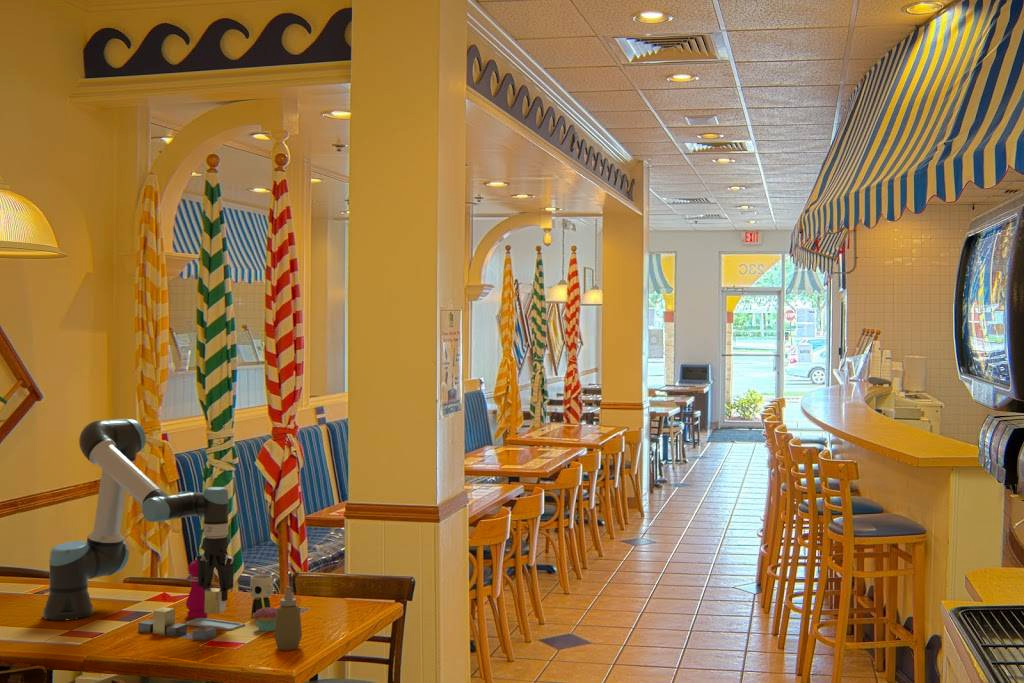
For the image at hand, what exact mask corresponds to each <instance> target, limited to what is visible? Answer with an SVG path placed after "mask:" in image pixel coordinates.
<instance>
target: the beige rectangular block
mask: <svg viewBox="0 0 1024 683" xmlns="http://www.w3.org/2000/svg"><path fill="white" fill-rule="evenodd" d="M211 588H212V589H209V590H205V613H207V614H210V615H211V614H213V615H218V614H221V613H225V612H226V610H225V611H222V612H218V591H219V590H221V589H220V587H219V588H217V587H211Z"/></svg>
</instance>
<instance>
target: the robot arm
mask: <svg viewBox="0 0 1024 683" xmlns="http://www.w3.org/2000/svg"><path fill="white" fill-rule="evenodd" d="M78 440H79V441H78V443H79V444H78V445H79V448H80V452H81V453H82V454H83V455H84V457H85V458H86V459H87V461H88V462H90V463H91V464H92V465H95V466H96V465H97V466H99V467H100V468H101V475H100V476H101V477H100V482H99V490H98V496H97V503H96V510H95V518H94V523H93V530H92V531H91V532H90V533H89V534H87V538H86V539H87V541H84V540H73V541H66V542H63V543H60V544H57V545H55V546H53V547H52V549H51V550H50V554H49V561H48V563H49V589H48V590H49V591H48V593H49V594H48V596H47V600H46V603H45V607H44V608H43V611H42V617H44V618H46V619H45V620H47V619H53V620H52V621H55V620H64V621H67V620H66V619H75V620H77V619H76V618H81V617H85V618H87V617H86V616H88V617H90V616H89V615H91V614H92V613H93V614H94V605H93V604H92V600H91V597H90V594H89V590H88V589H89V585H88V584H89V581H88V580H92V579H95V578H100V577H101V578H103V577H108V576H112V575H113V574H117V573H120V572H121V571H122V570H123V569H124V568H125V567H126V565H127V564H128V561H129V559H130V557H129V556H130V549H129V548H128V544H127V542H126V541H125V540H124V539H125V537H124V535H122V533H121V529H122V523H123V522H122V521H123V514H124V508H125V507H124V506H125V499H126V493H128V494H129V495H130V496H131V498H133V499H134V500H135V501H136V502H137V503H138V504H139V505H140V506H141V513H142V514H143V518H144V519H145V520H146V521H147V522H150V523H156V522H157V523H161V522H165V521H169V520H174V519H175V520H176V519H181V518H188V517H203V536H204V538H203V550H204V552H203V554H198V555H196V556H197V560H198V586H199V587H200V586H201V587H203V589H204V599H205V590H209V589H212V588H213V585H212V583H213V582H212V581H213V577H214V571H215V570H216V572H217V576H218V581H219V582H218V583H219V589H221V590H219V591H218V612H222V611H225V612H226V610H227V606H226V605H227V601H228V597H229V595H228V592H229V590H230V589H233V587H234V564H235V561H236V558H235V557H234V556H233V557H231V556H230V555H229V554H228V548H229V537H228V535H229V506H230V505H229V502H230V499H229V490H228V488H226V487H224V486H211V487H206V488H205V489H204V491H203V492H198V491H197V492H196V491H192V490H191V491H189V490H187V491H179V492H178V493H176V494H169V495H168V494H167V493H166V492H165V491H164V490H162V489H161V488H160V487H159V486H158V485H157V484H156V483H155V482H154V481H152V479H151V478H149V477H148V476H147V475H146V474H145V473H144V472H143V471H142V470H141V469H139V468H138V467H137V466H136V465H135V464H134V463H135V462H136V458H137V453H140V452H141V451H142V450H143V449H144V448H145V446H146V442H147V437H146V432H145V429H144V428H143V426H142V425H141V424H140V422H138V421H137V420H135V419H133V418H130V419H129V418H116V419H103V420H102V419H101V420H95V421H92V422H90V423H88V424H86V426H85V427H84V428H83V429H82V431H81V432H80V435H79V438H78ZM222 613H223V612H222ZM93 614H92V615H93ZM92 615H91V616H92ZM44 618H43V619H44ZM81 619H82V618H81Z"/></svg>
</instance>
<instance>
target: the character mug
mask: <svg viewBox="0 0 1024 683" xmlns="http://www.w3.org/2000/svg"><path fill="white" fill-rule="evenodd" d="M273 580H274V578H273V575H271V574H255V575H252V576H251V577H250V582H249V589H250V591H249V593H250V596H251V597H252V598H253V600H252V606H251V613H250V614H251V616H252V617H254V616H253V615H254V613H255V612H256V611H257V610H259V609H262V608H263V607H262V600H261V593H262V595H263V599H264V606H265V608H266V607H271V602H270V598H269V597H272V595H273V593H274V583H273Z"/></svg>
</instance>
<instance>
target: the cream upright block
mask: <svg viewBox="0 0 1024 683" xmlns="http://www.w3.org/2000/svg"><path fill="white" fill-rule="evenodd" d="M152 613H153V617H152V620H153V633H155V634H154V635H159V634H162V635H161V636H166V634H167V627H168V626H171V625H174V624H176V608H172V607H166V606H165V607H164V606H163V607H160V608H157V609H156V608H155V609H153V612H152Z"/></svg>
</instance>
